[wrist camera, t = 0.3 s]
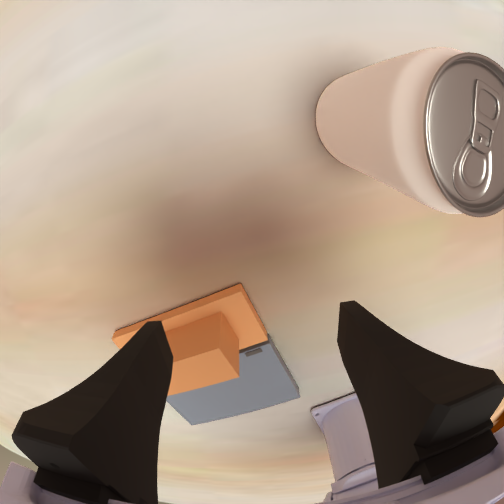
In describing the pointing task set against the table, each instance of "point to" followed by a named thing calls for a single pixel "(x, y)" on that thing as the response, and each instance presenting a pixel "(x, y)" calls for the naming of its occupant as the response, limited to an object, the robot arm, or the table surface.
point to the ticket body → (240, 388)
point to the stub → (206, 338)
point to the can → (423, 127)
